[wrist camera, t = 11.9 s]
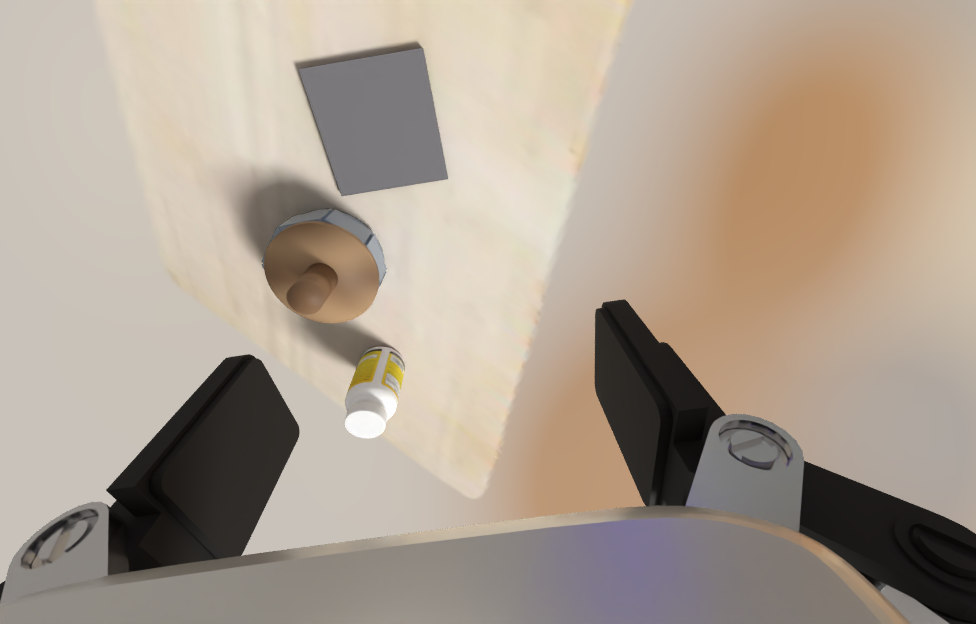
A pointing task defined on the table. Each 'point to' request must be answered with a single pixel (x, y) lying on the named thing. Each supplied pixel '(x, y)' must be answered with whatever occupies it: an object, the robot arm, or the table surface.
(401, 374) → the supplement bottle
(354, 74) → the mat
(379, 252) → the bowl
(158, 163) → the table surface
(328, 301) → the lid
